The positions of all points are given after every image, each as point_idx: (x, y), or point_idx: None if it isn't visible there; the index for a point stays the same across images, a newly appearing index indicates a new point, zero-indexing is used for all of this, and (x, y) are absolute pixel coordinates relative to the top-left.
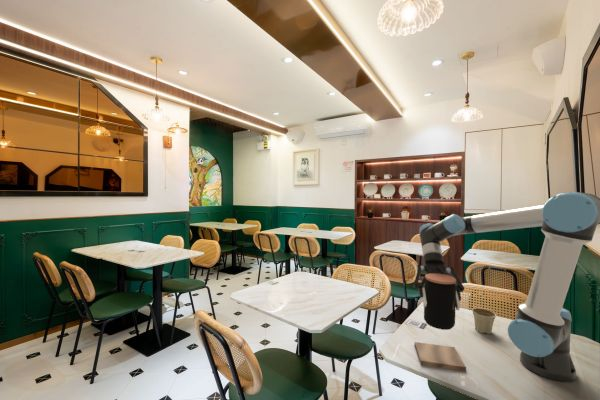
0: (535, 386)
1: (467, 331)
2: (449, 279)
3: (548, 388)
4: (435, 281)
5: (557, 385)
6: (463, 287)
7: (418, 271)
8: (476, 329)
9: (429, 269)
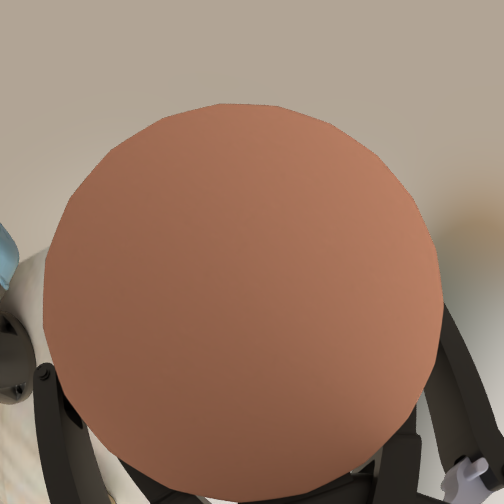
0: (38, 275)
1: (135, 491)
2: (130, 223)
3: (22, 278)
4: (317, 128)
5: (7, 295)
6: (36, 377)
7: (484, 410)
8: (113, 500)
9: (412, 495)
